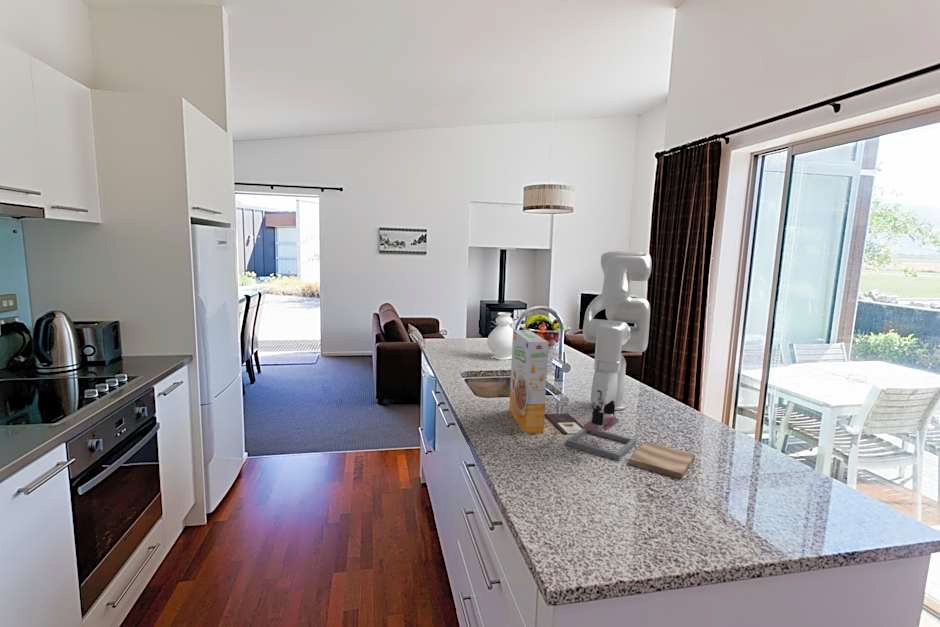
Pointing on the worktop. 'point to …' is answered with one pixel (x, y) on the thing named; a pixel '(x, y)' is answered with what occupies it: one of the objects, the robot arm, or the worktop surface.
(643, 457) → the walnut board
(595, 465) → the worktop surface
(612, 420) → the video game controller
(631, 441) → the frame
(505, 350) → the decorative vase
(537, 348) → the cereal box
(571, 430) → the chocolate bar
